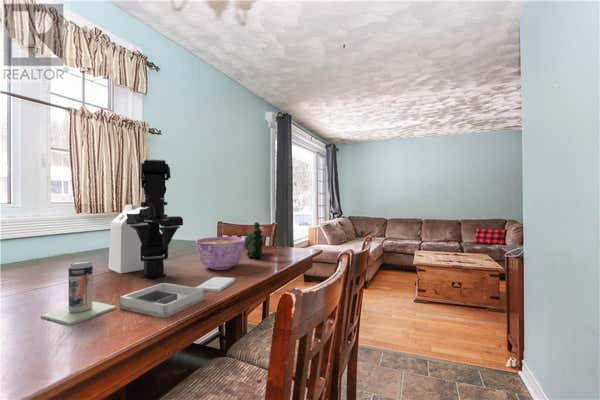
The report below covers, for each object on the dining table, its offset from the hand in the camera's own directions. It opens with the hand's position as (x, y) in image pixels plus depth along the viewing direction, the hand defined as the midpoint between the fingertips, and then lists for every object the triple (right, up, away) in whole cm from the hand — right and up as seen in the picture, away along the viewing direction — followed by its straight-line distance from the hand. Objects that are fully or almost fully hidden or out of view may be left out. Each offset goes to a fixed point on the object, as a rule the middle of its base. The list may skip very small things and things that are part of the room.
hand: (154, 247), depth 93 cm
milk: (-23, -13, +26) cm, 37 cm away
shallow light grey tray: (+9, -13, -14) cm, 21 cm away
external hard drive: (+19, -14, +3) cm, 23 cm away
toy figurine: (+24, -13, +51) cm, 58 cm away
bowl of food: (+14, -13, +28) cm, 34 cm away
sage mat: (-9, -13, -20) cm, 26 cm away
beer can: (-9, -13, -20) cm, 25 cm away
